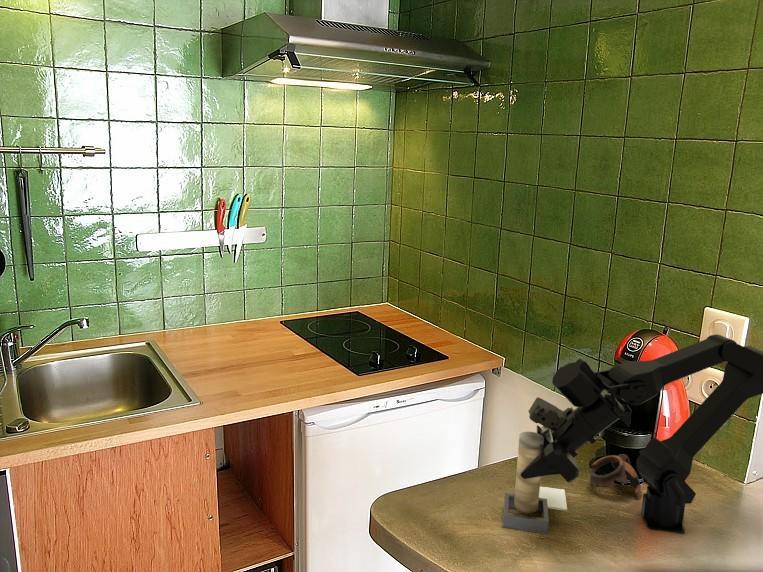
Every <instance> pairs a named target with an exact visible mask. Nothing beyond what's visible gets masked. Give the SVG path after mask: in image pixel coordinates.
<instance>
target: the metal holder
mask: <svg viewBox="0 0 763 572" xmlns="http://www.w3.org/2000/svg"><path fill="white" fill-rule="evenodd" d="M514 499H515V493H504V500H503V501H504V502H503V515H502V516H503V520H502V528H503V529H504V528H506V529H512V530H519V531H525V532H531V533H539V534H546V535H548V533H549V532H548V531H549V523H550V521H549V508H548V505H547V499H544V498H539V502H538V510H537V511H535V512H537V513H541V517H538V516H537V517H536V516H531V515H521V514H516V513H515V514H514V513H509V509H516V508H515V506H514ZM516 510H517V509H516Z"/></svg>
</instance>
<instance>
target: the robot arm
mask: <svg viewBox="0 0 763 572" xmlns="http://www.w3.org/2000/svg"><path fill="white" fill-rule="evenodd" d="M723 362H726V364H725V366H724V371H723V376H722V381H721V382H720V383H719V384H718V385H717V386H716V388H715V389H714V390H712V392H711V393H710V394H709V395H708V396H707V397H706V398H705V399H704V400H703V402H702V403H701V404H700V405H699V406H698V407H697V408H696V409H695V411H693V412H692V414H691V415H690V416H689V417H688V418H687V419H686V420H685V421H684V422H683V423H682V424H681V426H680V427H678V429H677V430H676V431H675V432H674V433H673V434H672V435H671V436H670V437H668V438H666V439H663V440H659V439H658V438H657V437H655V436H654V437H653V438H651V439H650V440H649V441H648V443H647V444H646V446H645V447H643V448H642V449H640V450H639V451H638V453H639V455H638V457H637V459H636V461H635V463H636V470H637V471H636V472H637V474H639V475H640V476H641V479H642V482H643V483H645V485H647V486H646V493H643V494H642V501H641V509H640V514H641V516H642V519H643V520H644V523H645V524H646V527H647V528H648V529H650V530H657V531H663V532H671V533H679V534H685V533H686V530H685V527H684V525H683V524H684V519H685V518H684V517H685V510H686V505H688V504H689V505H690V504H692V502H693V500H694V498H695V496H696V492H695V491H694V489H692V487H691V486H690V485H689V484H688V482H686V480H687V478H688V477H689V476H690V474H691V470H692V466H693V459H694V458H695V456H696V455H697V454H698V452H699V451H700V450H701V449H702V448H704V446H705V445H706V444H707V443H708V442H709V441H710V440H711V439H712V438H713V436H715V434H716V433H717V432H718V431H719V430H720V429H721V428H722V427H723V426H724V425H725V424H726V422H727V421H728V420H729V419H730V418H731V417H732V416H733V415H735V413H736V412H737V411H738V410H739V408H741V406H742V405H743V404H744V403H745V402H746V401H747V400H749V399H751V398H755V397H757V396H760V395H763V350H762V349H759V348H757V347H754V346H752V345H751V346H750V345H747V346H746V345H745V346H743V345H741V344H739V343H737V341H735V340H734V339H731V338H728V337H726V336H723V335H721V334H711V335H709V336H707V337H706V339H703V340H701V341H698V342H696V343H692V344H690V345H688V346H686V347H682V348H680V349H677V350H674V351H673V352H670V353H667V354H664V355H662V356H659V357H657V358H654V359H651V360H633V361H627V362H623V363H618V364H615V365H614V366H612V367H611V368H610V369H606V370H599V371H594V370H592V369H591V367H590V365H589V364H588V363H587V361H585V360H583V359H582V358H578V359H577V360H576V361H574V362H569V363H567V364H565V365H563V366H560V367H559V368H558V369H557V371H555V373H554V375H553V377H552V380H551V381H552V385H553V387H555V388H556V390H558V391H559V392H560V394H562V395H563V397H565V399H567V400H568V401H569V403H570V404H571V405H572V406H573V407H576V408H575V409H574V408H573V407H572V406H571V407H567V408H566V409H564V410H562V409H560V408H558V406H556V405H554V404H552V403H550V402H549V401H547V400H545V399H543V398H541V397H538V396H537V397H536V398H535V400H534V401H533V403H532V405H531V406H530V407H529V409H528V413H529V416H528V417H529V420H530V421H532V422H534V423H535V424H536V433H538V434H541V435H542V436H543V437H544V444H543V445H542V444H540V452H539V455H538V456H537V457H536V458H535V459H534V460H533V461H532V462H531V463H530V464H529V465H528V466H527V467H526V468H525V469H524V470H523V471H522V472H521V474H520V475H521V477H522V478H523V479H527V478H533V477H540V476H541V477H545V476H555V475H560V476H561V477H562V478H563V479H564V480H565V481H566V482H567V483H568V484H571V483H573V481H575V480H576V479H577V478H578V477H579V466H578V462H577V460H576V459H575V457H577V456H578V455H579V453H578V450H579V449H580V448H582V447H583V446H584V445H586V444H587V443H590V444H591V445H593V444H594V443H596V442H597V438H596V436H598V435H599V434H600V433H602V432H604V430H605V429H607V428H608V427H610V426H612V425H613V424H615V423H616V422H617V421H618V420H621V421H622V422H623V423H624V424H625V425H626V426H631V423H632V422H631V415H632V413H633V411H632V409H631V408H630V406H629V405H632V406H639V405H642V404H644V403H646V402H647V401H649V400H651V399H652V398H654V397H656V396H657V395H658V394H659V393H660V392H661V390H662V389H663V388H664V387H665V386H667V385H669V384H671V383H673V382H676V381H678V380H681V379H683V378H686V377H688V376H691V375H694V374H696V373H699V372H701V371H704V370H707V369H709V368H711V367H714V366H717V365H720V364H722V363H723ZM603 391H605V392H606V393H607V394H604V392H603ZM618 399H620V400H622V401H624V402H625V403H627V404H621V403H620V402H619V401H618ZM538 424H539V425H541V427H540V426H539V425H538Z"/></svg>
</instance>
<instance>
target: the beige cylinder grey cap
mask: <svg viewBox="0 0 763 572" xmlns="http://www.w3.org/2000/svg"><path fill="white" fill-rule="evenodd" d="M518 436H519V439H518V448H517V450H518V451H517V463H516V474H515V487H514V488H515V489H514V490H515V491H514V494H515V499H514V506H515V508H516V510H518V511H519V512H522V513H529V514H530V513H535V512H536V511H537V510H538V502H539V491H540V486H541V480H542V476H540V477H533V478H527V479H523V478H522V477H521V475H520V474H521V472H522V471H523V470H524V469H525V468H526V467H527V466H528V465H529V464H530V463H531V462H532V461H533V460H534V459H535V458H536V457H537V456H538V455H539V452H540V444H542V445H543V444H544V437H543V436H542V435H541V434H538V433H537V432H535V431H523V432H521V433H520V434H519V435H518ZM515 508H514V509H515Z"/></svg>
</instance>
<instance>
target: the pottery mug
mask: <svg viewBox="0 0 763 572" xmlns="http://www.w3.org/2000/svg"><path fill="white" fill-rule="evenodd" d="M607 464H611V466H612V467H613V469H614V470H613V471H612V472H609V473H606V474H596V472H597V470H599V468H600V467H603V466H604V465H607ZM592 466H593V467H592V468H591V467H590V469H589V475H590V479H589V480H590V481H589V483H590V484H591V485H592V486H594V487H595V488H602V489H604V488H606V489H607V488H608V489H610V490H612V491H615V487H614V486H615V481H616V482H618V483H623V484H626V485H627V484H629V487H630V488H633V489H635V490H634V494H635V497H636V500H637V501H640V499H641V498H642V489H641V488H642V487H641V483H640V479H639V476H638V472H637V471H636V470H635V469H634V468H633V466H632V465H631V460H630V458H629V456H628V455H627V454H625V453H621V454H620V453H619V454H618V455H615V454H613V455H612V454H611V455H606V456H603V457H601V458H599V459H597V460H596V461H594V462H593V463H592Z"/></svg>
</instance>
